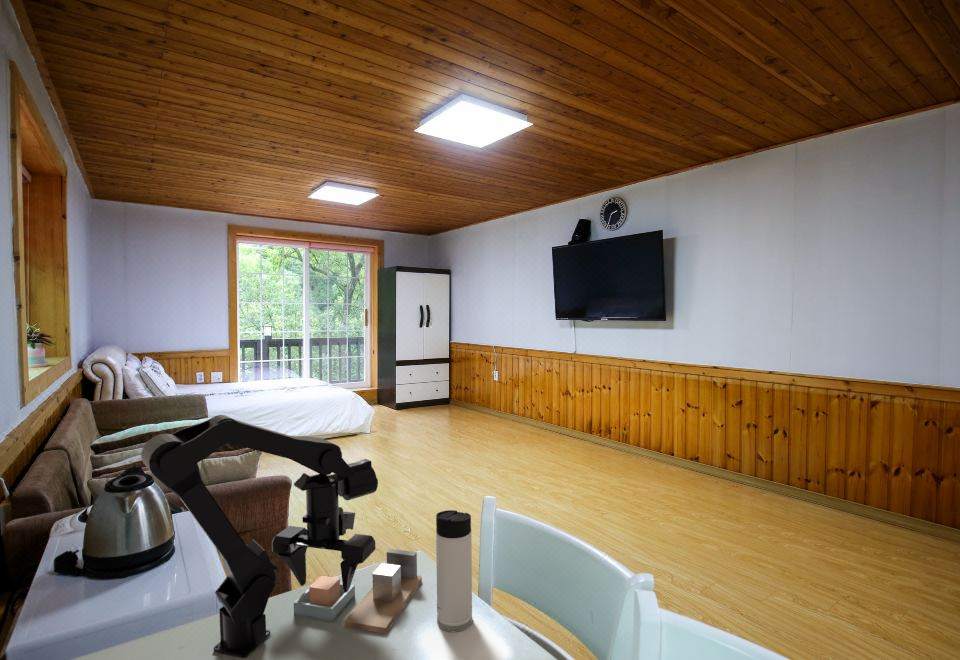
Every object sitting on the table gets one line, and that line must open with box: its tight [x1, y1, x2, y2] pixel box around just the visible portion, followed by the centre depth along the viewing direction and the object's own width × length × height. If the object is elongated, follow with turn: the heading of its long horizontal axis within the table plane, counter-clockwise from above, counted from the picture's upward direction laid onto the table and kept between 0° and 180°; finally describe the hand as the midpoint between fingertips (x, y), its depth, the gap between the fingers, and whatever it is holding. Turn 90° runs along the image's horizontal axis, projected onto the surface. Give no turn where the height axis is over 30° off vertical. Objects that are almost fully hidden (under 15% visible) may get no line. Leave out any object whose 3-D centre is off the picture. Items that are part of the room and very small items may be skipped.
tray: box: [293, 582, 356, 624], centre depth 96 cm, size 8×8×2 cm
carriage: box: [372, 562, 401, 602], centre depth 98 cm, size 4×4×5 cm
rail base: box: [343, 548, 423, 635], centre depth 97 cm, size 8×17×6 cm, turn 165°
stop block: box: [308, 575, 341, 607], centre depth 96 cm, size 4×4×4 cm
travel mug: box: [435, 509, 473, 633], centre depth 91 cm, size 6×7×20 cm
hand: (324, 588), depth 96 cm, fingers open, 9 cm apart
